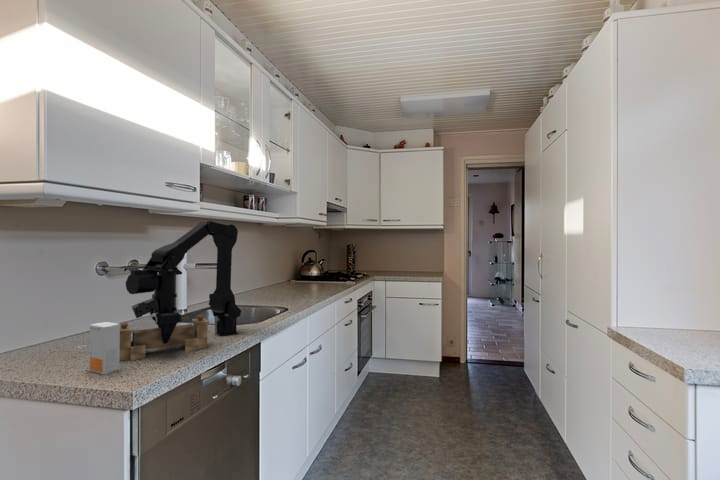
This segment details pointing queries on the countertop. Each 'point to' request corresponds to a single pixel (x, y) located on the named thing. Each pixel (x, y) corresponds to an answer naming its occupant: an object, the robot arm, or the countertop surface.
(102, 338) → the skincare box
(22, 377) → the countertop surface
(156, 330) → the rail
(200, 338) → the wooden stepped supports
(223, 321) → the robot arm
